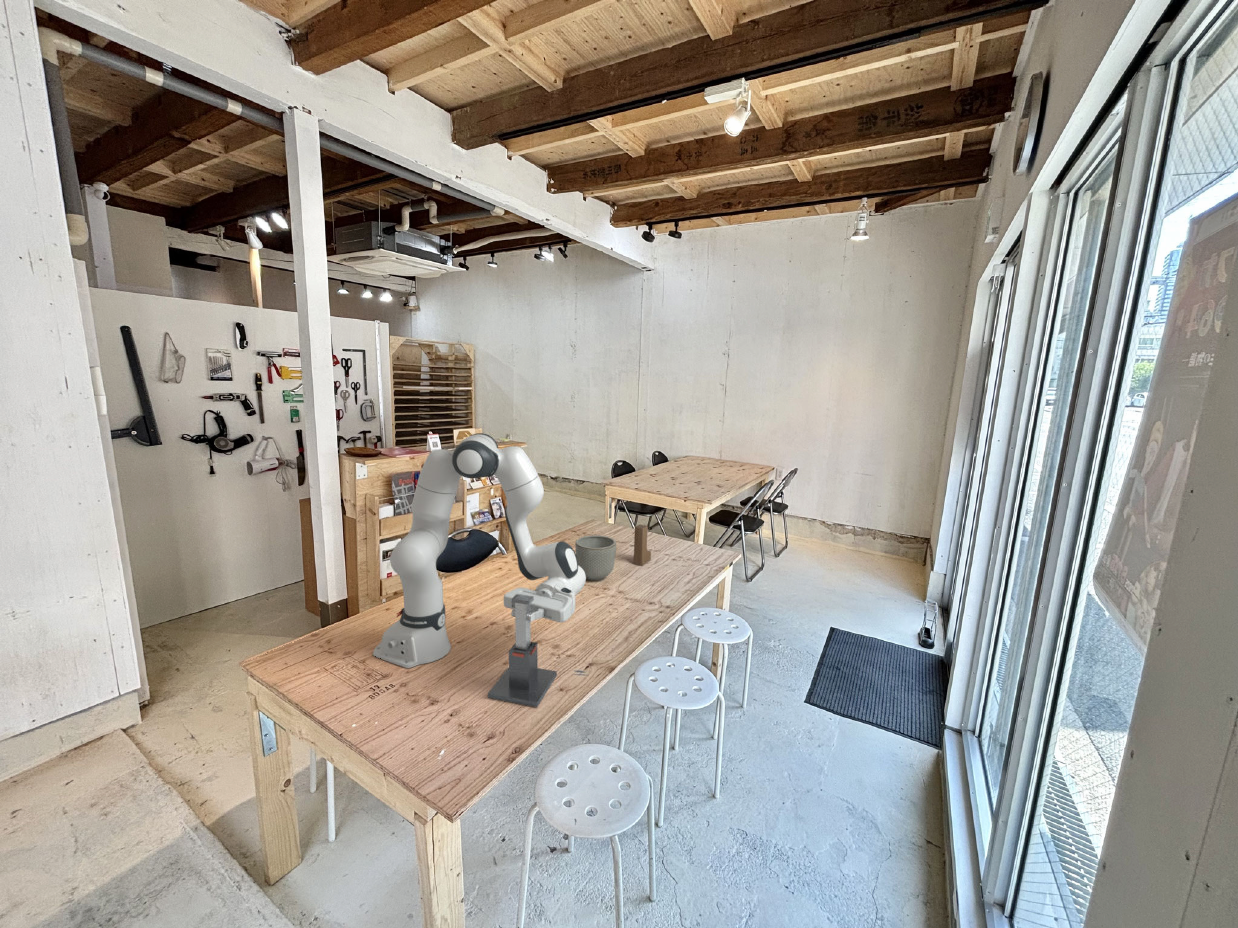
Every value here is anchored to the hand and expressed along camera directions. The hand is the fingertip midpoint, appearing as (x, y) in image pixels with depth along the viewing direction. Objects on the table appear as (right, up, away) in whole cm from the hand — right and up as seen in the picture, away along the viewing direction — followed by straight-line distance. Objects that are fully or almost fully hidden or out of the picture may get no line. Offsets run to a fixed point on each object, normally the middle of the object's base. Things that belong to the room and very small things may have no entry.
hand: (520, 616), depth 131 cm
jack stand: (0, -21, +5) cm, 21 cm away
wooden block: (+37, -5, +97) cm, 104 cm away
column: (0, -15, +3) cm, 15 cm away
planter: (+16, -8, +79) cm, 81 cm away
